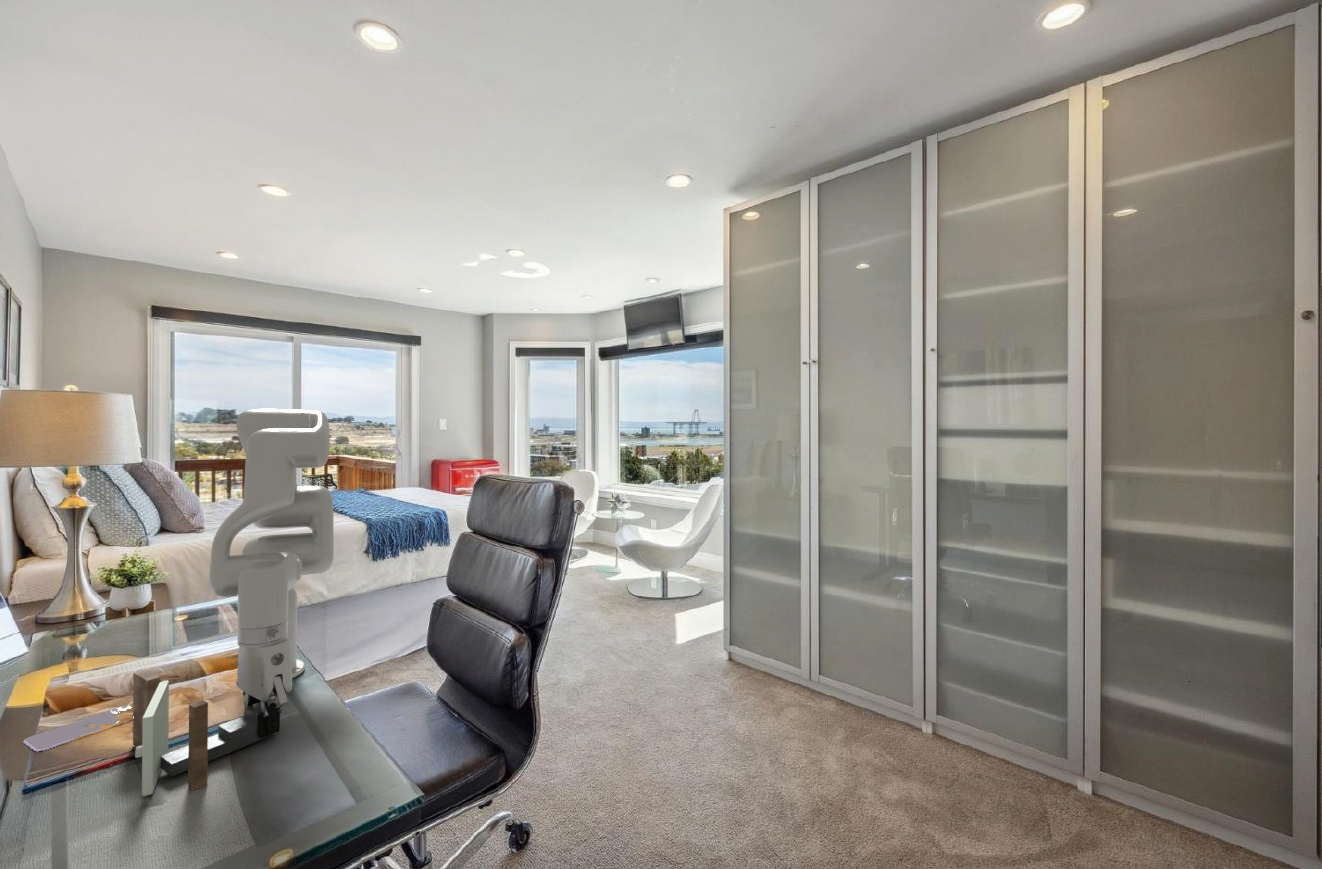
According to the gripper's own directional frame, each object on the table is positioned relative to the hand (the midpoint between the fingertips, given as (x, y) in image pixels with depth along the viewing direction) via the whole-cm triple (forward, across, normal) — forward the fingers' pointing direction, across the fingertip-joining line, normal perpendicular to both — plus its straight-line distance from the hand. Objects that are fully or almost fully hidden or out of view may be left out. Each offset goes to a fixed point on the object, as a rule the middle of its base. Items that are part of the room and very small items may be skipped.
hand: (262, 729), depth 105 cm
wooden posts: (+1, +4, +12) cm, 13 cm away
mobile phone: (+2, +30, +15) cm, 34 cm away
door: (+1, +3, +15) cm, 15 cm away
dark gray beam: (0, 0, +6) cm, 6 cm away
